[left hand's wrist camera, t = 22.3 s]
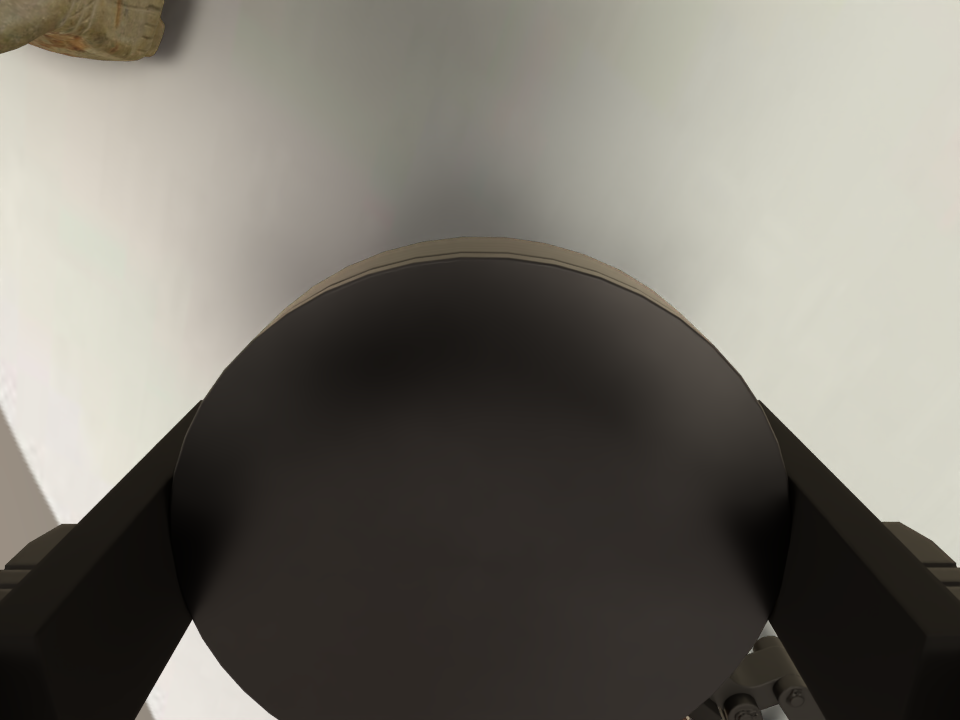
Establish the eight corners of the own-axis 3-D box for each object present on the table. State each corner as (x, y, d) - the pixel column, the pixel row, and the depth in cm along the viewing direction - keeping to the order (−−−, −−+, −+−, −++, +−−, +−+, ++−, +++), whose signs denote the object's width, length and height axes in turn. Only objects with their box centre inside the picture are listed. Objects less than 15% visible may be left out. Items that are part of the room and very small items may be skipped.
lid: (122, 561, 13) (68, 627, 11) (394, 105, 10) (377, 102, 8) (538, 771, 15) (545, 854, 13) (864, 441, 12) (927, 493, 10)
